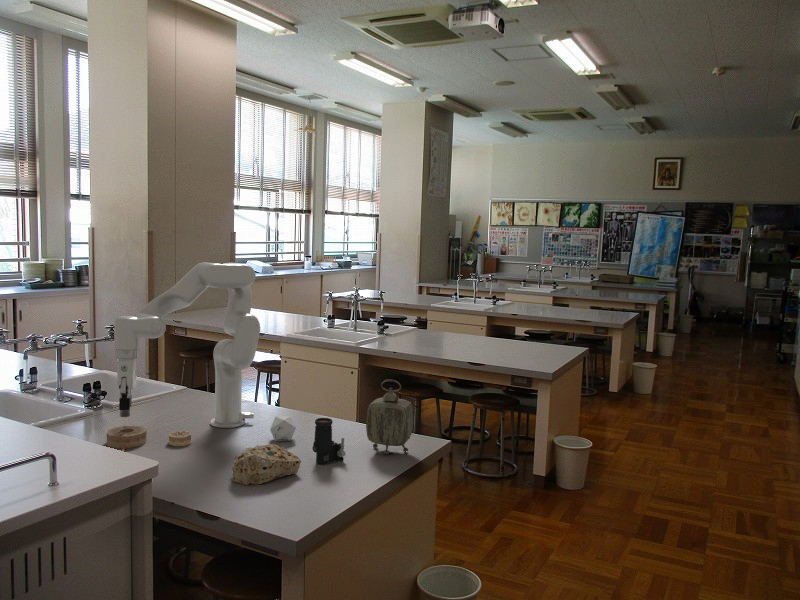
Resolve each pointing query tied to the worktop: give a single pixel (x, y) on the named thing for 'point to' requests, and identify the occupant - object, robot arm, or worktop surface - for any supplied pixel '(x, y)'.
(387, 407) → the tabletop clock
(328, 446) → the scope
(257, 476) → the rock
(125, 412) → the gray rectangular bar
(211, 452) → the worktop surface
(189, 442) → the beige short cylinder
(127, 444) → the bead
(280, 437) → the die
